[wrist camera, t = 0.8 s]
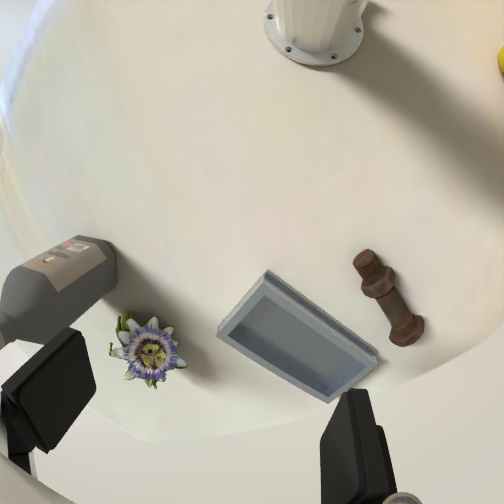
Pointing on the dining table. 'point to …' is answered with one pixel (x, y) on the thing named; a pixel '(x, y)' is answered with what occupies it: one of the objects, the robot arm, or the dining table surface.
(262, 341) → the tray
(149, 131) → the dining table surface
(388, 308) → the bolt
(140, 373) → the passion flower
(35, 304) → the liquor
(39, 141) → the dining table surface
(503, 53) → the lemon
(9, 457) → the robot arm
